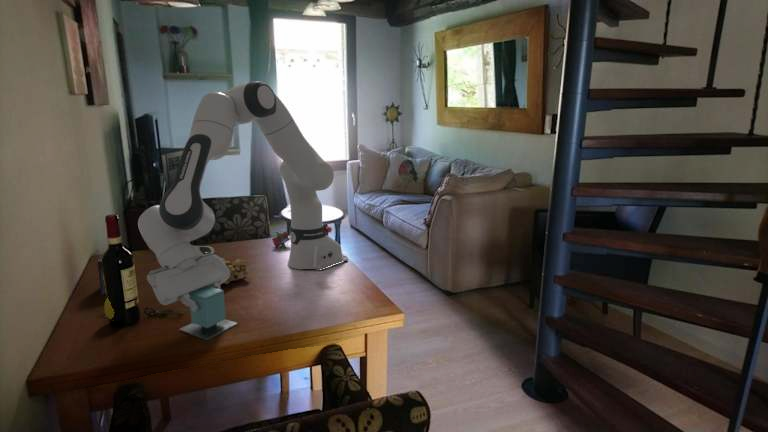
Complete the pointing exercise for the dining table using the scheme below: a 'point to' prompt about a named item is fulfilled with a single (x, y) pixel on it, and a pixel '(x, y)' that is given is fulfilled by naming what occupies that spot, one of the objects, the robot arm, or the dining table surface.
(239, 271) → the mineral formation
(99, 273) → the box
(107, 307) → the lemon
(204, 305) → the tall teal block
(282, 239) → the geometric puzzle
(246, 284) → the dining table surface
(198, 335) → the post
